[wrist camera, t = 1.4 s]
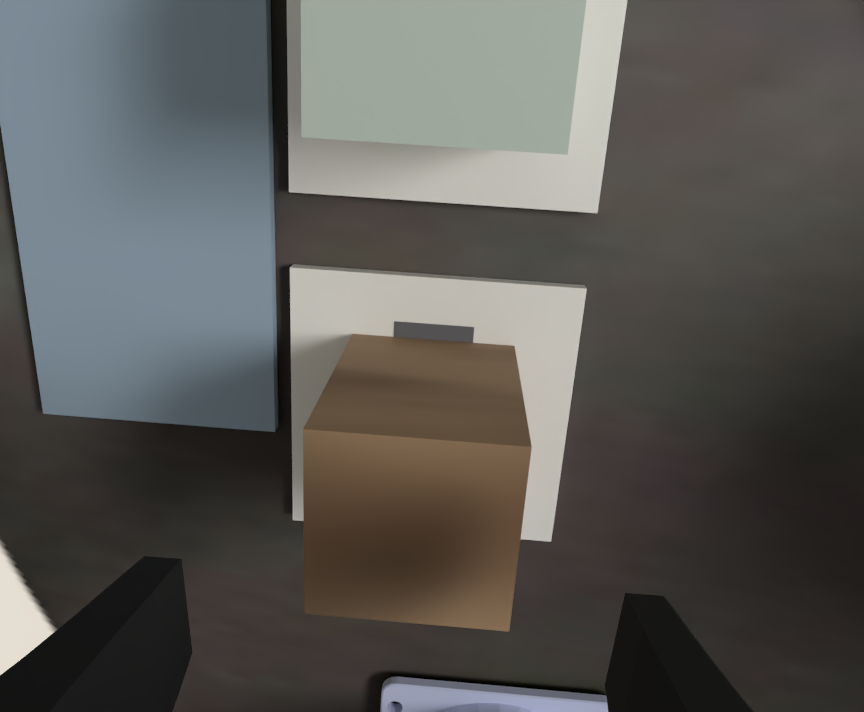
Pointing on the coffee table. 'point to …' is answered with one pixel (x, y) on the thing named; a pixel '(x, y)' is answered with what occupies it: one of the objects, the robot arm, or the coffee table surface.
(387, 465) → the walnut block
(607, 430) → the coffee table surface
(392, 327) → the white tile
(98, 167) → the slate mat
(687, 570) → the coffee table surface
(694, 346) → the coffee table surface
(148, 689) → the robot arm
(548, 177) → the white flat square
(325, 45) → the sage green block
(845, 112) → the coffee table surface
